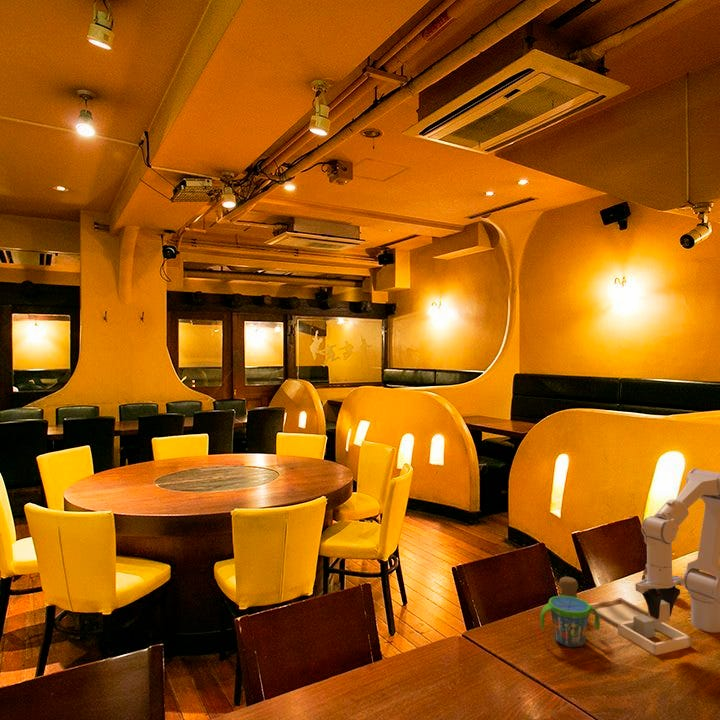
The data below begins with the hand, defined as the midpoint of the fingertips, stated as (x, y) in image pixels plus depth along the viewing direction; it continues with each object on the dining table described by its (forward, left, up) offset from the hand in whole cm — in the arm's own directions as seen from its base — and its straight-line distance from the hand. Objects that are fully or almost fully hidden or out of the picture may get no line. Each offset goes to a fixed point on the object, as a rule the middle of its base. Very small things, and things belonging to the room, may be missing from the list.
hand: (660, 615), depth 139 cm
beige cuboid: (0, -1, -1) cm, 1 cm away
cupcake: (-26, -24, -9) cm, 36 cm away
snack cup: (+20, -11, -9) cm, 24 cm away
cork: (+10, -23, -8) cm, 26 cm away
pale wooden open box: (0, -2, -8) cm, 9 cm away
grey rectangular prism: (0, -5, -8) cm, 9 cm away
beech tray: (-3, -17, -8) cm, 19 cm away
